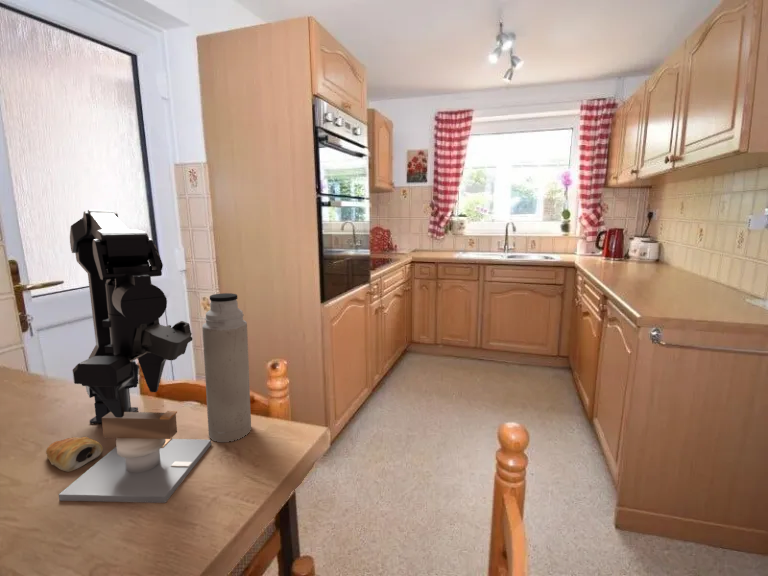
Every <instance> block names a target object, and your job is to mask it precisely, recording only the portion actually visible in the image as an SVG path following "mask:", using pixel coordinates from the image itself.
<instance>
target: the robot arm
mask: <svg viewBox="0 0 768 576" xmlns="http://www.w3.org/2000/svg"><path fill="white" fill-rule="evenodd" d="M82 213H83V216H82V218H81V219H79V220H77V221H76V222H74V223H73V224H72V225H71V226H70V231H69V245H70V251H71V253H72V254H75V259H76V262H77V264H78V265H79V266H80V267H81V268H82V269H83V270H84V271H85V273H87V278H88V279H87V280H88V287H89V295H90V296H89V297H90V306H91V312H92V321H93V329H94V338H95V340H94V341H95V346H94V348H93V349H92V351H91V353H90V354H89V357H88V358H87V359H85V360H83V361H81V362H79V363H77V364H76V365H75V367H73V369H72V370H71V371H72V379H73V383H74V385H81V386H82V387H85V390H86V391H85V392H87V395H88V397H89V399H90V398H94V413H95V416H94V417H92V418H91V419H89V423H90V424H102V417H104V416H105V415H106V414H108V413H109V412H112V413H113V415H114V416H115V417H117V418H122V417H123V416H124V412H138V410H139V408H138V407H137V406H134V407H133V406H132V405H131V404H132V402H131V392H130V389H132V388H138V385H139V373H140V372H139V371H140V369H141V373H142V375H143V378H144V381H145V383H146V386H147V387H148V390H149V392H150V393H157V392H158V390H159V386H160V382H161V379H162V375H163V372H164V367H165V364H166V362H167V361H175V360H177V359H178V357H180V356H181V355H184V354H185V353H186V350H187V347H188V344H189V343H191V342H192V341H193V336H192V334H193V333H192V331H191V330H192V329H191V327H190V326H191V325H190V323H188V322H187V321H183V320H180V321H178V322H176V323H175V324H174V325H173V326H172V325H171V324H168V325H163V324H161V323H160V318H161V317H162V316H163V315H164V313H165V312H166V310H167V307H168V306H167V304H168V300H167V297H166V295H165V293H164V292H163V290H162V289H161V288H159V287H158V286H156V285H154V284H153V283H152V278H151V277H161V276H162V270H163V267H164V264H163V262H162V258H161V255H160V253H159V250H158V248H157V245H156V244H155V243H154V240H153V239H152V238H150V237H149V235H148V233H147V232H146V231H143V230H140V229H131V228H128V227H127V226H126V225H125V224H124V223H123V222H122V221H121V220H120V218H119V216H118V215H119V214H118V213H117V211H113V210H111V209H110V210H105V209H104V210H103V209H102V210H101V209H88V210H84V211H83V212H82ZM135 360H138V363H139V365H138V364H137V362H136V361H135Z"/></svg>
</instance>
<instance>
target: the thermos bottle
mask: <svg viewBox="0 0 768 576" xmlns="http://www.w3.org/2000/svg"><path fill="white" fill-rule="evenodd" d="M209 300H210V303H209V306H210V310H208V311H207V312H205V318H204V320H205V321H206V322H204V323H203V324H202V328H201V329H202V342H203V346H202V347H203V357H204V358H203V360H204V361H203V362H204V378H205V380H204V381H205V392H206V411H207V426H208V427H207V428H208V430H207V431H208V438H209V439H210V438H211V439H212V440H211V439H210V440H211V441H214V442H216V441H217V442H218V443H230V442H229V441H231V442H234V440H235V441H238V440H241V439H243V438H245V437H246V436H247V434H248V433H249V432H250V433H251V431H252V415H251V413H252V412H251V393H250V392H251V391H250V390H251V389H250V387H251V386H250V368H249V367H250V366H249V364H250V363H249V339H248V337H249V335H248V322H247V321H246V320H244V316H245V315H244V312H243V310H242V309H240V308H239V307H238V306H239V305H238V301H237V300H238V294H236V293H229V292H228V293H227V292H223V293H215V294H214V293H213V294H211V295H210V296H209ZM250 430H251V431H250ZM250 433H249V434H250ZM245 435H246V436H245ZM244 436H245V437H244ZM242 437H243V438H242ZM240 438H241V439H240ZM237 439H238V440H237Z"/></svg>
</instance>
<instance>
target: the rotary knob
mask: <svg viewBox="0 0 768 576" xmlns="http://www.w3.org/2000/svg"><path fill="white" fill-rule="evenodd" d="M177 414H178V411H177V410H167V411H166V412H153V411H152V412H148V411H147V412H145V411H144V412H143V411H136V412H124V416H123V417H122V418H117V417H115V416H114V415H113V413H112V412H109V413H108V414H106V415H105V416H104V417H102V423H101V425H102V435H103V438H104V439H115V445H116V446H115V447H117V454H118V455H119V456H121V457H124V458H136V457H142V456H145V455H148V454H151V453H153V452H155V451H157V450H159V449H160V448H161V447H163V445H164V444H165V442H166V440H165V439H171V438H172V439H173V437H174V436H175V435H176V434H177V433H178V429H177V428H178V426H177V425H178V423H177Z"/></svg>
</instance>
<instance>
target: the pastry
mask: <svg viewBox="0 0 768 576" xmlns="http://www.w3.org/2000/svg"><path fill="white" fill-rule="evenodd" d="M103 448H104V447H103V446H102V445H101V443H100V442H99V441H97V440H95V439H92V438H89V437H88V436H82V437H81V436H80V437H75V436H74V437H68V438H64V439H61V440H56V441H54V442H53V443H51V444H50V445H49V446H48V447H47V448H46V450H45V454H46V458H47V459H48V460H49V463H50V464H51V466H54V467H55V468H57V469H59V470H60V471H63V472H67V473H69V472H72V471H76V470H78V469H80V468H82V467H84V466H85V465H86V464H88V463H89V462H92V461H93V460H96V459H97V458H98V457H99V456H101V454H102V453H103Z"/></svg>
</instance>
